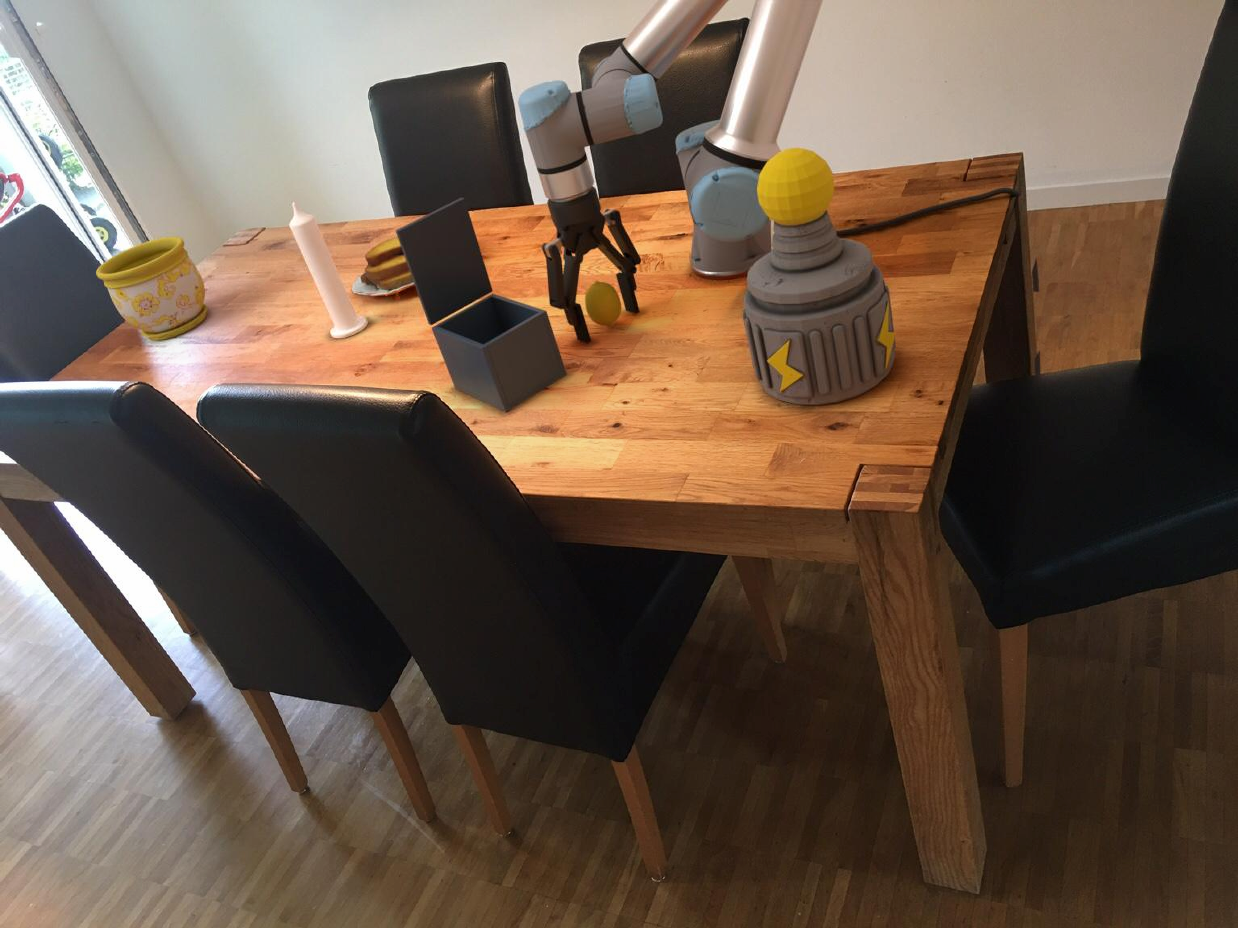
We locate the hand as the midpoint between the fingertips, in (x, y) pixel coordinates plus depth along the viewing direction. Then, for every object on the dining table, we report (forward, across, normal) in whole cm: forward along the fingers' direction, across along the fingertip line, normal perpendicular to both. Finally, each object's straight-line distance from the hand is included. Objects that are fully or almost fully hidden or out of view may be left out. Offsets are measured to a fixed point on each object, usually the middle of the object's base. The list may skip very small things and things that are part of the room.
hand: (609, 325), depth 163 cm
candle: (+1, +23, -51) cm, 56 cm away
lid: (-19, +19, -8) cm, 28 cm away
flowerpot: (+1, +42, -99) cm, 107 cm away
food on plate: (+1, +3, -60) cm, 60 cm away
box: (0, +19, -2) cm, 19 cm away
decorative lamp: (0, -5, +41) cm, 41 cm away
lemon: (0, 0, 0) cm, 0 cm away
